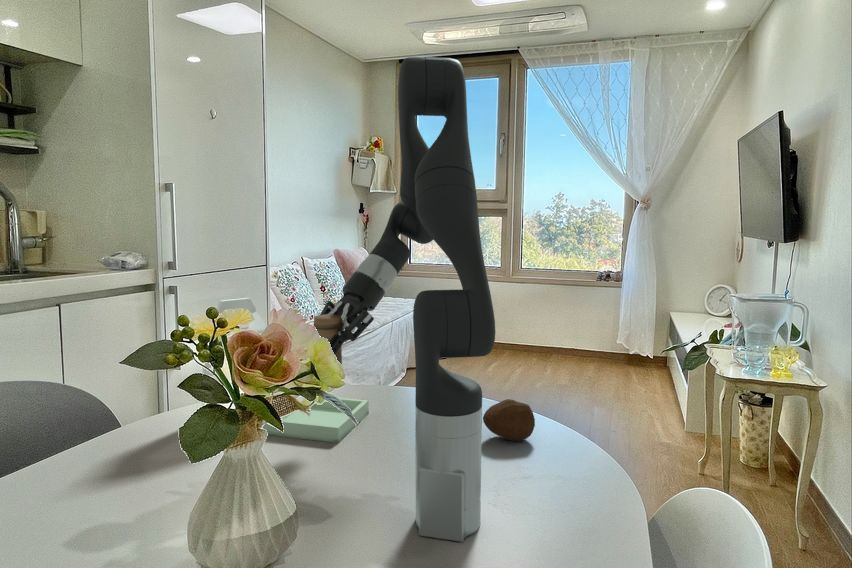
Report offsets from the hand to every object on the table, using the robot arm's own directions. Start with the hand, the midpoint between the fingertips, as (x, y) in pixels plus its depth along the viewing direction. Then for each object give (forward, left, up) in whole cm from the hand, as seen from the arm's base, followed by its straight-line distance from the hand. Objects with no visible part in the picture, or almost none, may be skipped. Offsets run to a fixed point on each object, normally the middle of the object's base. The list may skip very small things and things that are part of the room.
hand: (319, 351), depth 104 cm
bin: (+8, +4, -18) cm, 20 cm away
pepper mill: (+2, -1, -5) cm, 5 cm away
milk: (+5, +21, -18) cm, 28 cm away
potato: (+10, -35, -18) cm, 40 cm away
